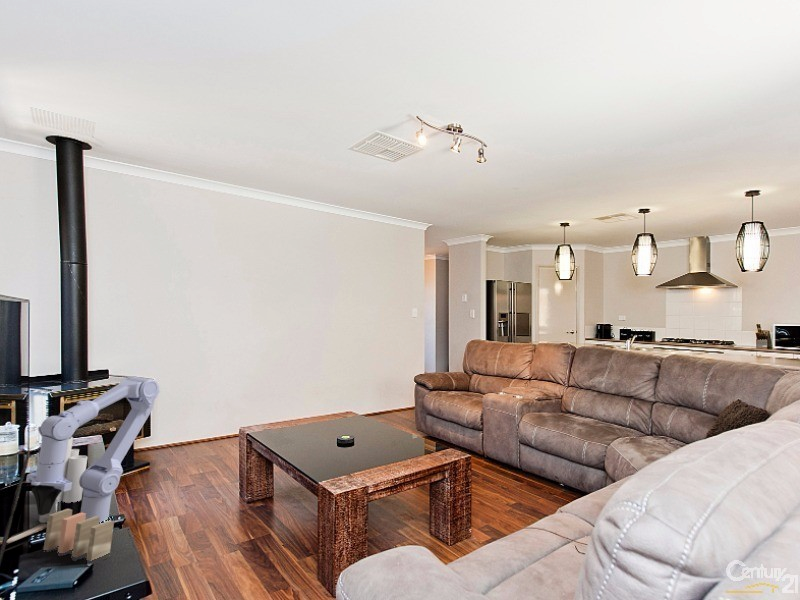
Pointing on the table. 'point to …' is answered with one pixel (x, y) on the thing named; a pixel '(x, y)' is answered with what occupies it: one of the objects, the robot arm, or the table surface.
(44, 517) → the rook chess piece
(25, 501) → the table surface
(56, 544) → the birch domino
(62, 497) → the candle
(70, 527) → the terracotta domino
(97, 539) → the birch domino
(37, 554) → the table surface
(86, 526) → the birch domino
